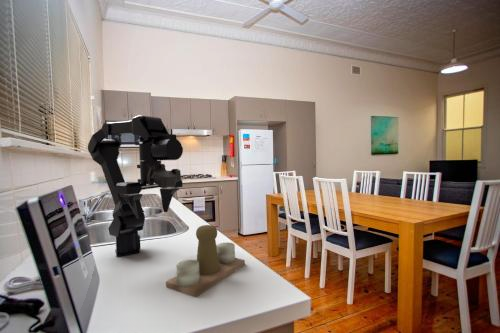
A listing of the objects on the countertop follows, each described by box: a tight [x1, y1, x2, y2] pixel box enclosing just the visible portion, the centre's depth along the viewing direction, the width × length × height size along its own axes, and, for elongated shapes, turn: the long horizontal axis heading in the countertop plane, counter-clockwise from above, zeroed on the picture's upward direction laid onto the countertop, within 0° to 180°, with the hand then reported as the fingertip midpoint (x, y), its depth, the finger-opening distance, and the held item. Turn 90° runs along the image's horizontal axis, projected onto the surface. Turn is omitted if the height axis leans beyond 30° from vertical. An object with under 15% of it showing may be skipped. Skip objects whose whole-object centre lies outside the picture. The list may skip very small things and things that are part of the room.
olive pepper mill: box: [195, 224, 220, 275], centre depth 65 cm, size 6×6×11 cm
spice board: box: [165, 241, 246, 298], centre depth 65 cm, size 9×19×5 cm, turn 148°
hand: (152, 215), depth 75 cm, fingers open, 9 cm apart
